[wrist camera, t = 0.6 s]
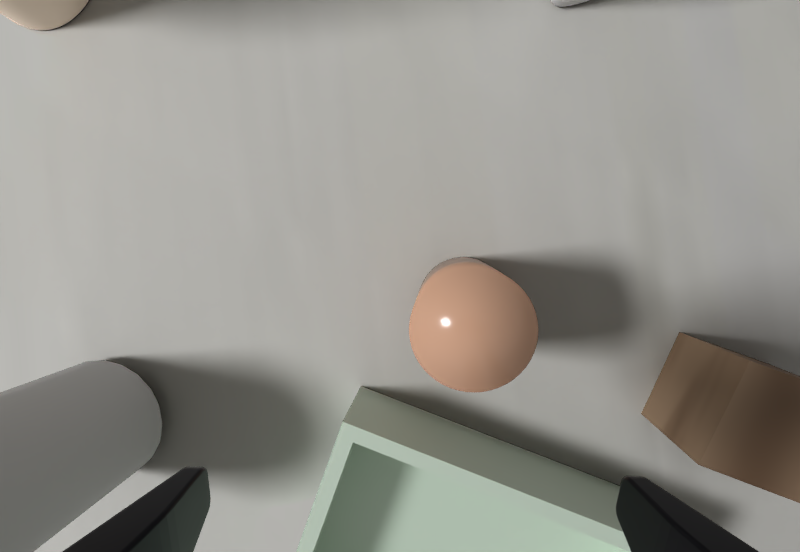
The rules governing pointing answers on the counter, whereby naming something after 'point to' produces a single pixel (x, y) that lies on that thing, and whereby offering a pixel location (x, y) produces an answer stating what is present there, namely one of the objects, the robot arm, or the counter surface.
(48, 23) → the water bottle
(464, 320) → the egg
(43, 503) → the can
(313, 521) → the box
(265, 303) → the counter surface
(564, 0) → the eye dropper bottle
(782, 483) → the walnut cube
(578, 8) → the counter surface
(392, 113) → the counter surface
